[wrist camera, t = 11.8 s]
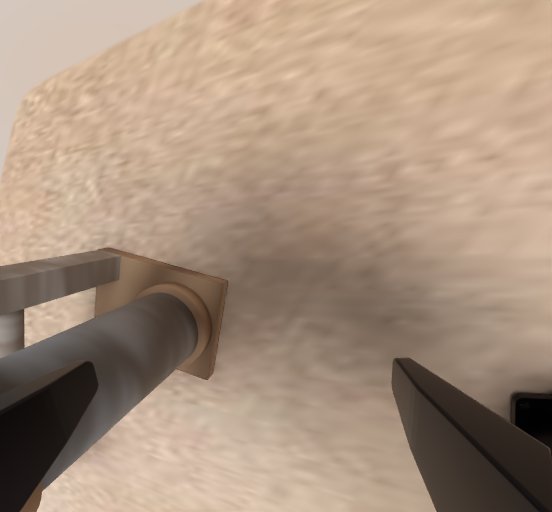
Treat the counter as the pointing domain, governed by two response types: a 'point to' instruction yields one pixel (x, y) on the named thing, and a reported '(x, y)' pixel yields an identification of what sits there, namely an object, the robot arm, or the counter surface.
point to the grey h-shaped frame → (101, 292)
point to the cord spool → (116, 361)
